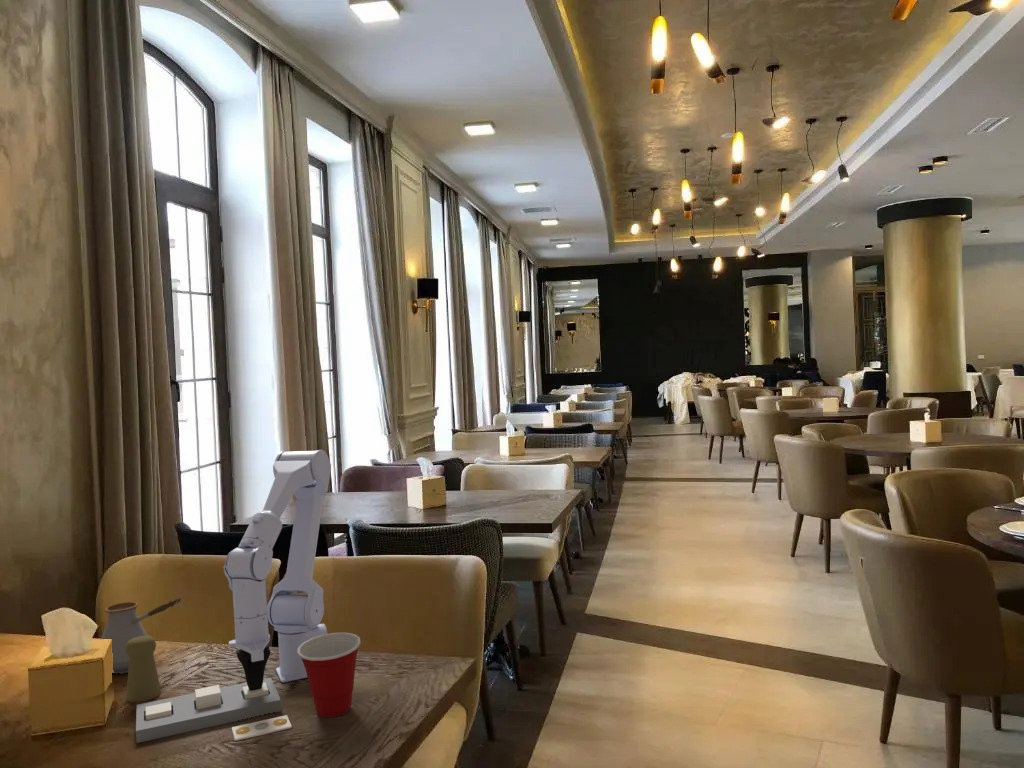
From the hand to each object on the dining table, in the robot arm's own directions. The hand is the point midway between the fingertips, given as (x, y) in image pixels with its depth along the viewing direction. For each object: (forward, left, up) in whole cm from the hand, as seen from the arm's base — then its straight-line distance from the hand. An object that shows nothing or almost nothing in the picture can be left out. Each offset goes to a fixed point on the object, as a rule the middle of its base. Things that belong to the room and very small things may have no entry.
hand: (255, 689), depth 143 cm
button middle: (+8, 0, -1) cm, 8 cm away
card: (0, +11, -3) cm, 12 cm away
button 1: (+16, 0, -2) cm, 16 cm away
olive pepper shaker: (+18, -16, -3) cm, 25 cm away
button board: (+8, 0, -3) cm, 8 cm away
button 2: (0, 0, -2) cm, 2 cm away
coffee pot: (+18, -32, -3) cm, 37 cm away
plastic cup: (-12, +11, -3) cm, 16 cm away
